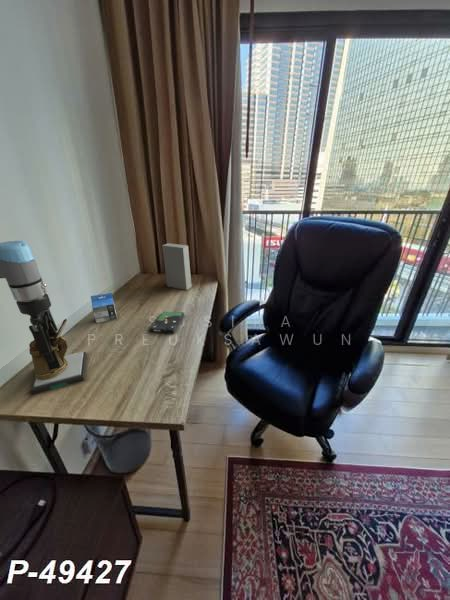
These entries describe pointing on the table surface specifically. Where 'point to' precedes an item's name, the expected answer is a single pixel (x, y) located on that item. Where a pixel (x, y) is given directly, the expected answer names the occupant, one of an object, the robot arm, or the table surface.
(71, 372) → the scale
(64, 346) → the wooden mug
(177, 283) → the upright grey slab
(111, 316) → the tape cartridge
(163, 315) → the disk drive
